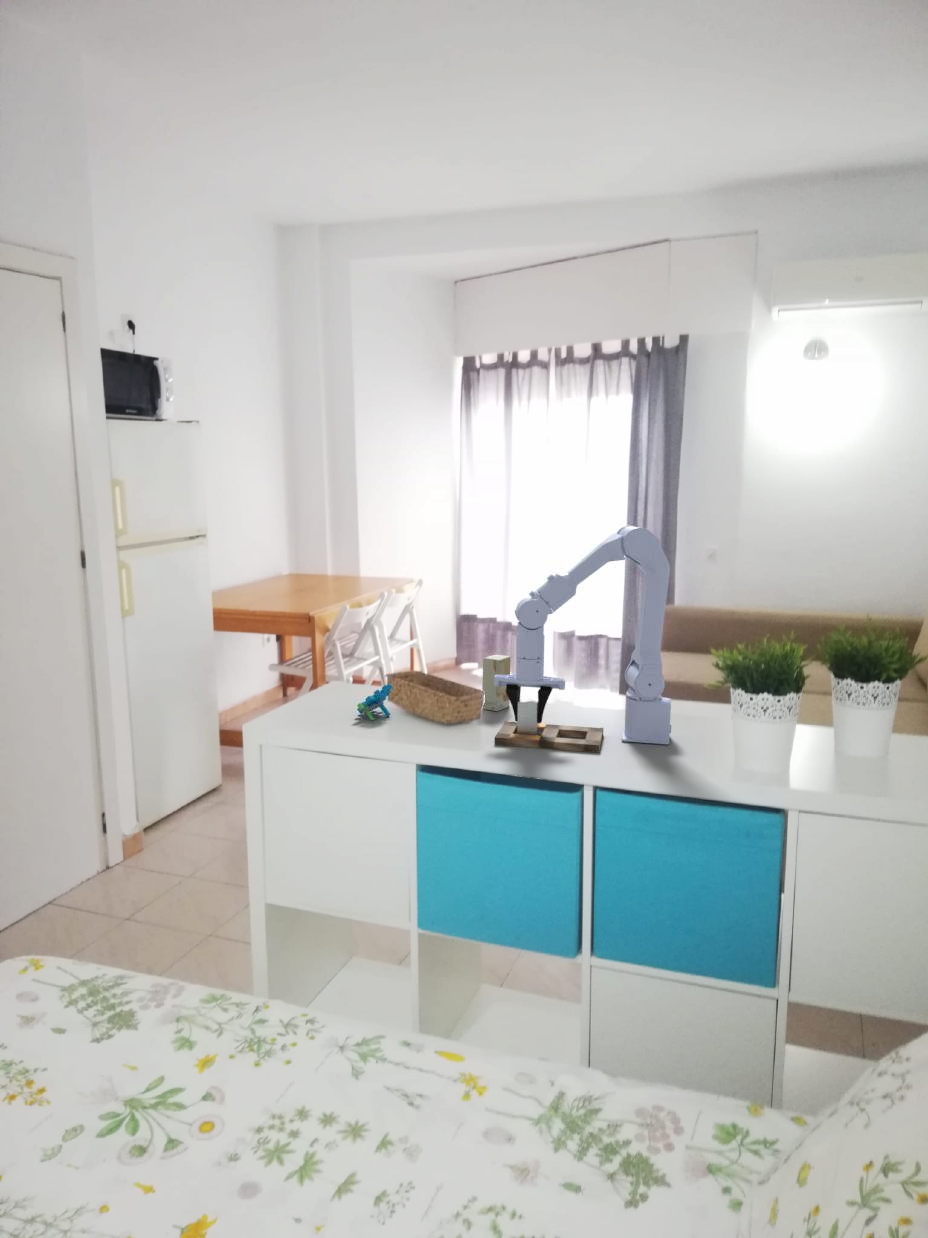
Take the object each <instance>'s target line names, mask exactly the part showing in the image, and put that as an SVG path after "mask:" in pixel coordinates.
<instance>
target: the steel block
mask: <svg viewBox="0 0 928 1238" xmlns="http://www.w3.org/2000/svg"><path fill="white" fill-rule="evenodd" d="M537 717H538V697H528V696H527V697H524V696H522V697H521V696H520V699H519V701H518V720H517V721H516V722H517V733H516V734H522V735H536V736H538V735H537V734H538V732H539V723H538V721H537Z"/></svg>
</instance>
